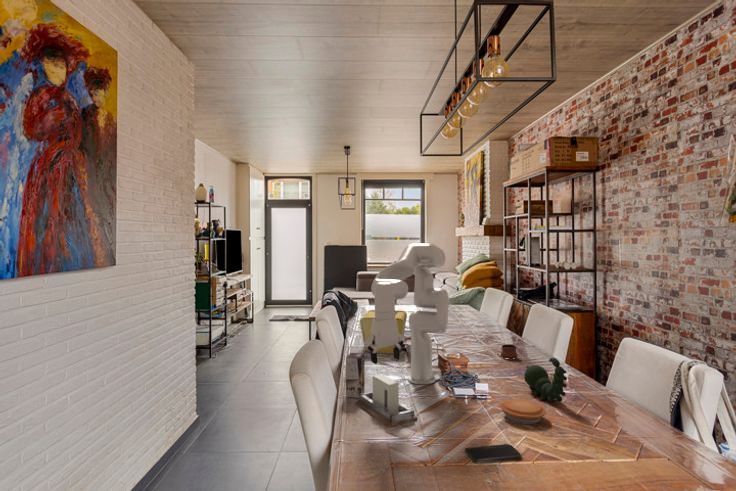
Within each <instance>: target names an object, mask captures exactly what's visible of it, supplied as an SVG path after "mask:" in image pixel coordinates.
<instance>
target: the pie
mask: <svg viewBox="0 0 736 491" xmlns="http://www.w3.org/2000/svg"><path fill="white" fill-rule="evenodd" d="M499 404H500V405H499V407H500V409H501V411H502V412H503V414H504V415H505V417H506V418H507V419H508V420H509V421H511V422H513V423H517V424H522V425H534V424H538V423H539V422H540V421H541V419H542V417H544V416H545V415H546V414H547V409H546V408H545V407H544V406H543V405H541V404H539V403H537V402H536V401H533V400H530V399H529V400H528V399H524V398H523V399H522V398H511V399H507V400H505V401H502V402H501V403H499Z"/></svg>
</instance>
